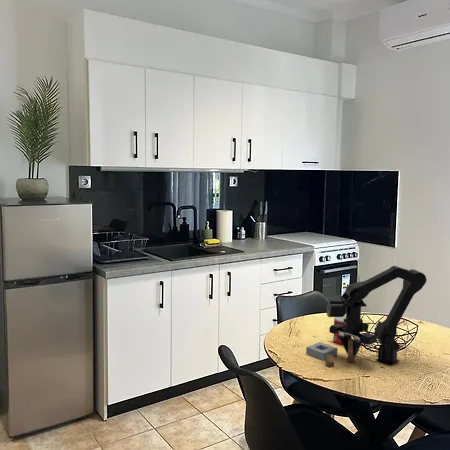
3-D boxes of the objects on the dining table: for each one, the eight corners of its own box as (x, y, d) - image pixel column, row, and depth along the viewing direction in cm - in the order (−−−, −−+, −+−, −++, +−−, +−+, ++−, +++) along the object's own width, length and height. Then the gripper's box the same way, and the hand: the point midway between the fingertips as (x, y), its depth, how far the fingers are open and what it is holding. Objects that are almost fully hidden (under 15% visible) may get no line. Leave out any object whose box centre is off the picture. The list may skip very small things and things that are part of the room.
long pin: (356, 361, 189) (357, 340, 188) (352, 363, 188) (353, 342, 186) (350, 359, 192) (351, 338, 191) (345, 361, 190) (346, 339, 189)
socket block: (337, 355, 196) (337, 348, 196) (323, 360, 190) (323, 353, 190) (319, 348, 203) (320, 342, 202) (306, 353, 197) (306, 346, 197)
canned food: (347, 347, 205) (348, 322, 204) (330, 342, 210) (331, 318, 209) (354, 342, 211) (355, 318, 210) (337, 337, 216) (338, 314, 215)
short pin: (335, 366, 185) (335, 356, 185) (330, 368, 183) (330, 358, 183) (328, 363, 188) (329, 353, 187) (324, 365, 186) (324, 355, 185)
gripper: (385, 318, 186) (383, 356, 187) (345, 307, 200) (343, 343, 202) (369, 324, 178) (367, 363, 180) (329, 312, 192) (327, 349, 194)
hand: (351, 354), depth 189 cm, fingers closed on long pin, 3 cm apart
